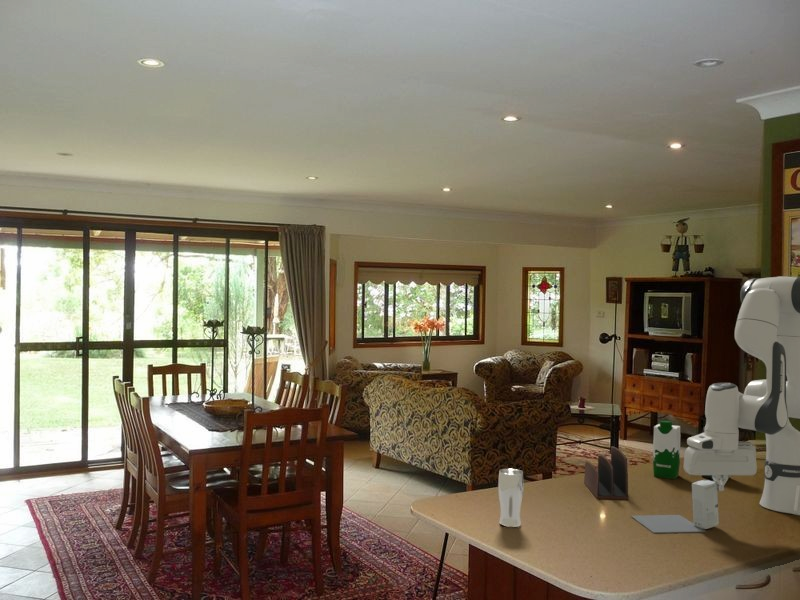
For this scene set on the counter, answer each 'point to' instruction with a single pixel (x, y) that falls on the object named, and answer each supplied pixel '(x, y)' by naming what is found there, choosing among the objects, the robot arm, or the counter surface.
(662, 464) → the milk carton
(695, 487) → the skincare box
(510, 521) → the beer glass
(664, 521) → the slate mat
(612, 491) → the letter holder
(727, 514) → the counter surface
